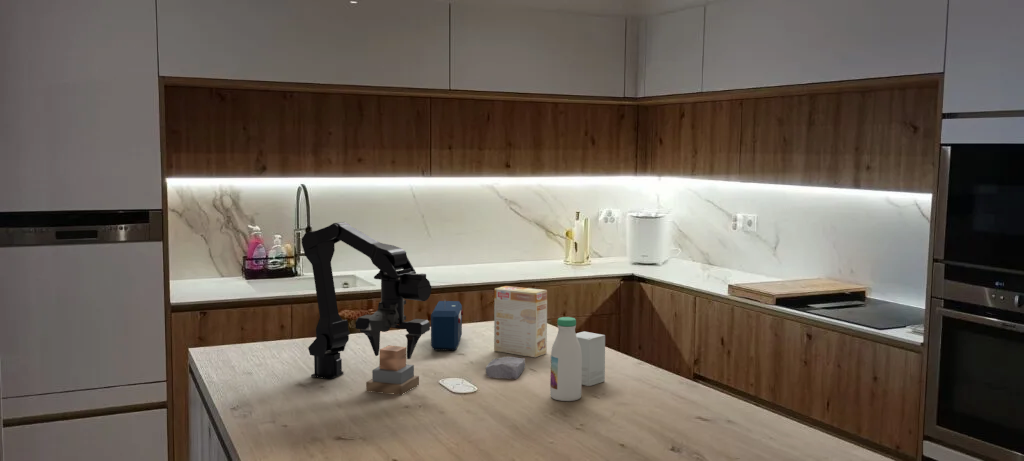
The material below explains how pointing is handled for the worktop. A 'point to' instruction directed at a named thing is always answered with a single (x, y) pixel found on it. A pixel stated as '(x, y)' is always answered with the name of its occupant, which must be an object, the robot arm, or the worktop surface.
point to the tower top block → (393, 375)
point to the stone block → (505, 367)
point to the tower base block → (392, 386)
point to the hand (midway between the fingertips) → (392, 357)
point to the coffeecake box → (520, 321)
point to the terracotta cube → (392, 358)
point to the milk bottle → (566, 362)
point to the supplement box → (592, 357)
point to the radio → (446, 325)
